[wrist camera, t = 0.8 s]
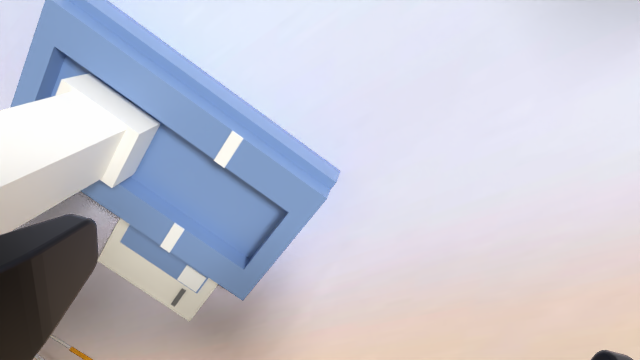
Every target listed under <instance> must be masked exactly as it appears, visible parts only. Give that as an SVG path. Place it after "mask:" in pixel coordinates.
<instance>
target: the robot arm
mask: <svg viewBox="0 0 640 360" xmlns="http://www.w3.org/2000/svg"><path fill="white" fill-rule="evenodd" d="M97 260H98V242H97V227H96V223H95V221H94V220H92V219H90V218H86V217H82V216H78V215H74V214H68V215H64V216H61V217H58V218H55V219H51V220H48V221H45V222H41V223H38V224H35V225H31V226H28V227H25V228H21V229H18V230H15V231H11V232H8V233H5V234H1V235H0V360H33V358H34V357H35V356H36V354H37V353H38V352H39V351H40V349H41V348H42V347H43V345H44V344H45V343H46V341H47V340H48V338H49V337H50V335H51V334H52V333H53V331H54V330H55V328H56V326H57V325H58V323H59V322H60V320H61V319H62V317H63V316H64V314H65V313H66V311H67V310H68V308H69V307H70V305H71V304H72V302H73V301H74V299H75V297H76V296H77V294H78V293H79V291H80V290H81V288H82V287H83V285H84V284H85V282H86V281H87V279H88V278H89V276H90V275H91V273H92V272H93V270H94V268H95V266H96V264H97ZM591 360H633V359H632V358H630V357H628V356H626V355H624V354H620V353H616V352H612V351H608V350H601V351H599V352H597V353H596V354H595V355H594V356H593V358H592V359H591Z"/></svg>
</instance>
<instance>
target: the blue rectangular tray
mask: <svg viewBox="0 0 640 360" xmlns="http://www.w3.org/2000/svg"><path fill="white" fill-rule="evenodd" d="M88 73H90V74H92V75H93V76H94V77H96V78H97V79H99V80H100V81H101V82H103V83H104V84H106V85H107V86H108V87H110V88H111V89H113V90H114V91H115V92H117V93H118V94H120V95H121V96H123V97H124V98H125V99H127V100H128V101H130V102H131V103H132V104H134V105H135V106H137V107H138V108H139V109H141V110H142V111H144V112H145V113H147V114H148V115H149V116H151V117H152V118H154V119H155V120H156V121H158V122H159V123H161V124H160V126H159V128H158V130H157V131H156V133H155V135H154V137H153V139H152V141H151V143H150V145H149V147H148V148H147V150H146V152H145V154H144V156H143V158H142V160H141V162H140V164H139V166H138V167H137V169H136V171H135V173H134V174H133V175H132V176H130V177H129V178H127V179H126V180H124V181H122V182H121V183H119V184H118V185H116V186H115V187H113V188H111V187H110V186H108V185H107V184H105V183H104V182H102V181H101V180H98V181H96V182H95V183H93V184H91V185H90V186H88V187H86V188H84V189H83V190H81V192H83V193H84V194H86V195H87V196H89V197H90V198H92V199H93V200H94V201H96V202H97V203H99V204H100V205H102V206H103V207H105V208H106V209H108V210H109V211H111V212H112V213H114V214H115V215H117V216H118V217H120V218H121V219H123V220H124V221H126V222H127V223H129V224H130V225H131V226H133V227H134V228H136V229H137V230H139V231H140V232H142V233H143V234H145V235H146V236H148V237H149V238H151V239H152V240H154V241H155V242H157V243H158V244H160V247H162V248H163V249H165V250H166V251H167V252H169V253H170V252H171V253H173V254H174V255H176V256H177V257H179V258H180V259H182V260H183V261H185V262H186V263H188V264H189V265H191V266H192V267H194V268H195V269H197V270H198V271H200V272H201V273H202V274H204V275H205V276H207V277H208V278H210V279H211V280H213V281H214V282H216V283H217V284H219V285H220V286H222V287H223V288H225V289H226V290H228V291H229V292H231V293H232V294H234V295H235V296H237V297H238V298H239V299H241V300H242V301H243V300H244V299H245V298H246V296H247V295H248V294H249V293H250V291H251V290H252V289H253V288H254V287H255V285H256V284H257V283H258V282H259V281H260V279H261V278H262V277H263V276H264V274H265V273H266V272H267V271H268V270H269V268H270V267H271V266H272V265H273V264H274V262H275V261H276V260H277V259H278V257H279V256H280V255H281V254H282V253H283V251H284V250H285V249H286V248H287V247H288V245H289V244H290V243H291V242H292V240H293V239H294V238H295V237H296V236H297V234H298V233H299V232H300V231H301V230H302V228H303V227H304V226H305V225H306V223H307V222H308V221H309V220H310V219H311V217H312V216H313V215H314V214H315V213H316V211H317V210H318V209H319V208H320V206H321V205H322V204H323V203H324V202H325V200H326V199H327V197H328V195H329V192H330V189H331V188H332V187H333V186H334V185H335V183H336V182H337V179H338V176H339V173H340V171H339V170H338V169H337V168H335V167H334V166H333V165H331V164H330V163H329V162H327V161H326V160H324V159H323V158H322V157H320V156H319V155H318V154H316V153H315V152H313V151H312V150H311V149H309V148H308V147H307V146H305V145H304V144H303V143H301V142H300V141H298V140H297V139H296V138H294V137H293V136H292V135H290V134H289V133H287V132H286V131H285V130H283V129H282V128H281V127H279V126H278V125H277V124H275V123H274V122H272V121H271V120H270V119H268V118H267V117H266V116H264V115H263V114H262V113H260V112H259V111H257V110H256V109H255V108H253V107H252V106H251V105H249V104H248V103H246V102H245V101H244V100H242V99H241V98H240V97H238V96H237V95H236V94H234V93H233V92H231V91H230V90H229V89H227V88H226V87H225V86H223V85H222V84H221V83H219V82H218V81H216V80H215V79H214V78H212V77H211V76H210V75H208V74H207V73H205V72H204V71H203V70H201V69H200V68H199V67H197V66H196V65H195V64H193V63H192V62H190V61H189V60H188V59H186V58H185V57H184V56H182V55H181V54H179V53H178V52H177V51H175V50H174V49H173V48H171V47H170V46H169V45H167V44H166V43H164V42H163V41H162V40H160V39H159V38H158V37H156V36H155V35H154V34H152V33H151V32H149V31H148V30H147V29H145V28H144V27H143V26H141V25H140V24H138V23H137V22H136V21H134V20H133V19H132V18H130V17H129V16H128V15H126V14H125V13H123V12H122V11H121V10H119V9H118V8H117V7H115V6H114V5H113V4H111V3H110V2H108V1H107V0H45V3H44V6H43V9H42V12H41V15H40V18H39V21H38V25H37V28H36V31H35V34H34V37H33V40H32V43H31V46H30V49H29V52H28V55H27V58H26V61H25V64H24V67H23V70H22V74H21V77H20V80H19V83H18V86H17V89H16V92H15V95H14V98H13V101H12V104H11V107H15V106H19V105H23V104H26V103H30V102H34V101H38V100H41V99H45V98H49V97H53V96H55V95H56V93H57V90H58V87H59V85H60V82H61V79H66V78H70V77H75V76H79V75H84V74H88ZM11 107H10V108H11Z"/></svg>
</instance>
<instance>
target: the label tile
mask: <svg viewBox="0 0 640 360" xmlns="http://www.w3.org/2000/svg"><path fill="white" fill-rule="evenodd" d="M97 261H98V262H100V263H101V264H103V265H104V266H106V267H107V268H109V269H110V270H112V271H113V272H115V273H116V274H118V275H119V276H121V277H122V278H124V279H125V280H127V281H128V282H130V283H131V284H133V285H134V286H136V287H137V288H139V289H140V290H142V291H144V292H145V293H147V294H148V295H150V296H151V297H153V298H154V299H156V300H157V301H159V302H160V303H162V304H163V305H165V306H166V307H168V308H169V309H171V310H172V311H174V312H175V313H177V314H178V315H180V316H181V317H183V318H184V319H186V320H187V321H189V322H190V321H191V319H192V318H193V317H194V315H195V314H196V313H197V312H198V310H199V309H200V308H201V306H202V305H203V304H204V302H205V301H206V300H207V298H208V297H209V296H210V294H211V293H212V292H213V291H214V289H215V288H216V287H217V285H218V284H217V283H216V282H214V281H213V280H211V279H210V278H208V277H207V276H205V275H204V274H202V273H201V272H200V271H198V270H197V269H195V268H194V267H192V266H191V265H189V264H188V263H186V262H185V261H183V260H182V259H180V258H179V257H177V256H176V255H174V254H173V253H171V252H170V253H169V252H167V251H166V250H165V249H163V248H162V247H160V244H158V243H157V242H155V241H154V240H152V239H151V238H149V237H148V236H146V235H145V234H143V233H142V232H140V231H139V230H137V229H136V228H134V227H133V226H131V225H130V224H129V223H127V222H126V221H124V220H123V219H121V218H120V219H119V221H118V223H117V225H116V226H115V228H114V230H113V232H112V234H111V236H110V237H109V239H108V241H107V243H106V245H105V247H104V249H103V250H102V252H101V254H100V256H99V258H98V260H97Z"/></svg>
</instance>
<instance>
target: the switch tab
mask: <svg viewBox="0 0 640 360" xmlns="http://www.w3.org/2000/svg"><path fill="white" fill-rule="evenodd" d="M160 124H161V123H159V122H158V121H156V120H155V119H154V118H152V117H151V116H149V115H148V114H147V113H145V112H144V111H142V110H141V109H139V108H138V107H137V106H135V105H134V104H132V103H131V102H130V101H128V100H127V99H125V98H124V97H123V96H121V95H120V94H118V93H117V92H115V91H114V90H113V89H111V88H110V87H108V86H107V85H106V84H104V83H103V82H101V81H100V80H99V79H97V78H96V77H94V76H93V75H92V74H90V73H88V74H84V75H79V76H75V77H70V78H66V79H61V82H60V85H59V87H58V90H57V93H56V95H55V96H53V97H49V98H45V99H41V100H38V101H34V102H30V103H26V104H23V105H19V106H15V107H11V108H7V109H4V110H0V235H1V234H5V233H8V232H11V231H13V230H14V229H16V228H18V227H19V226H21V225H23V224H25V223H26V222H28V221H30V220H31V219H33V218H35V217H36V216H38V215H40V214H42V213H43V212H45V211H47V210H48V209H50V208H52V207H54V206H55V205H57V204H59V203H60V202H62V201H64V200H66V199H67V198H69V197H71V196H72V195H74V194H76V193H78V192H79V191H81V190H83V189H84V188H86V187H88V186H90V185H91V184H93V183H95V182H96V181H98V180H101V181H102V182H104V183H105V184H107V185H108V186H110V187H111V188H113V187H115V186H116V185H118V184H119V183H121V182H122V181H124V180H126V179H127V178H129V177H130V176H132V175H133V174H134V173H135V171H136V169H137V167H138V166H139V164H140V162H141V160H142V158H143V156H144V154H145V152H146V150H147V148H148V147H149V145H150V143H151V141H152V139H153V137H154V135H155V133H156V131H157V130H158V128H159V126H160Z"/></svg>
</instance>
